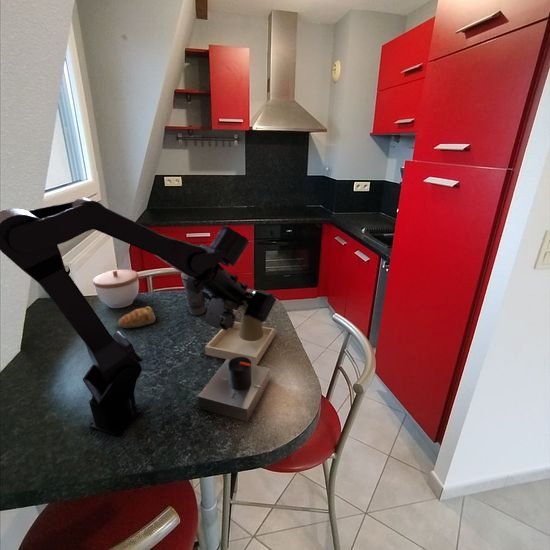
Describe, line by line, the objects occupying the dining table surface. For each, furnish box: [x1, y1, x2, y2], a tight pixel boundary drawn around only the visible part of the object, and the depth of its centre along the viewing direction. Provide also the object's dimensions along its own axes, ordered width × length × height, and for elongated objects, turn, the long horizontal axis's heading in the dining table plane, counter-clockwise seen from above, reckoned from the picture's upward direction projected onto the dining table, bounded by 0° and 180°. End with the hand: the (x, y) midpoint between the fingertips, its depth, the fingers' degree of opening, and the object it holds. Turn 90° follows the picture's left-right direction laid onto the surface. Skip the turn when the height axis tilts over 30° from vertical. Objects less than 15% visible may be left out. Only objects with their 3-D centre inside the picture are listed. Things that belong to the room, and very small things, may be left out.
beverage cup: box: [180, 272, 206, 316], centre depth 93 cm, size 7×7×20 cm
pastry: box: [117, 305, 156, 329], centre depth 90 cm, size 9×7×4 cm
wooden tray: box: [204, 321, 276, 366], centre depth 80 cm, size 13×13×2 cm
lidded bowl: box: [92, 269, 140, 309], centre depth 100 cm, size 13×13×11 cm
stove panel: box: [197, 359, 271, 422], centre depth 64 cm, size 12×10×3 cm
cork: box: [239, 296, 263, 341], centre depth 79 cm, size 6×6×11 cm
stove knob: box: [228, 357, 252, 390], centre depth 62 cm, size 4×4×5 cm
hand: (254, 310), depth 80 cm, fingers closed on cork, 5 cm apart
